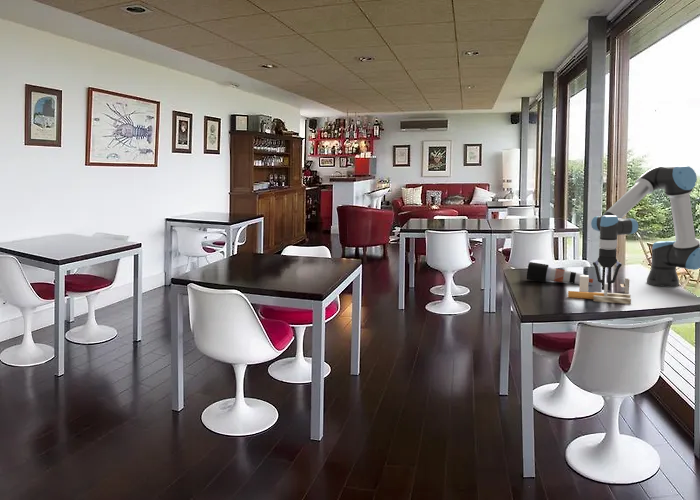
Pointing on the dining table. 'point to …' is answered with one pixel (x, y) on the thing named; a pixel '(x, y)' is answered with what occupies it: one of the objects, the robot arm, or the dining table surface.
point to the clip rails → (613, 298)
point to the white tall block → (584, 283)
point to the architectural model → (626, 285)
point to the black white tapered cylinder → (552, 274)
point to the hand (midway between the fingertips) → (605, 296)
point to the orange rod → (583, 294)
